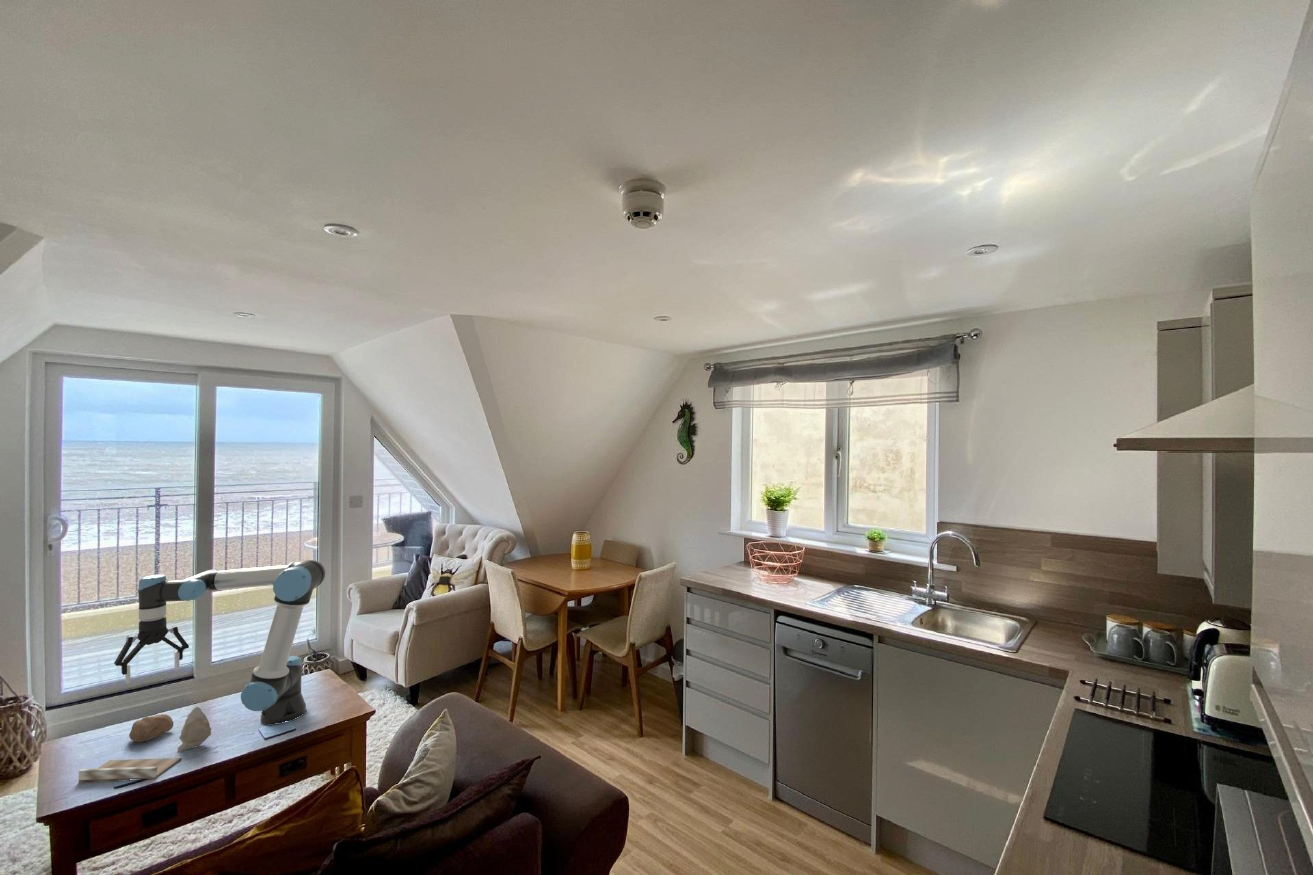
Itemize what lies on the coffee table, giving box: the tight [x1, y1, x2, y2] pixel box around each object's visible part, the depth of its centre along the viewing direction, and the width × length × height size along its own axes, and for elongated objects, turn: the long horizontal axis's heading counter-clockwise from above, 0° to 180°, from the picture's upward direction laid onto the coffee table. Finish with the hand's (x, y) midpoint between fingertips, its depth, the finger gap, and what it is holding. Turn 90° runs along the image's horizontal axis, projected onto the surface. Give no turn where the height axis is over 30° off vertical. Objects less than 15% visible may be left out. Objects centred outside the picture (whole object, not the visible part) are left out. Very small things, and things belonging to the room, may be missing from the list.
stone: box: [128, 713, 174, 743], centre depth 204 cm, size 12×9×10 cm
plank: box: [78, 757, 182, 784], centre depth 182 cm, size 23×11×4 cm, turn 94°
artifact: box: [177, 706, 212, 753], centre depth 197 cm, size 9×3×15 cm, turn 127°
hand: (153, 675), depth 201 cm, fingers open, 13 cm apart
